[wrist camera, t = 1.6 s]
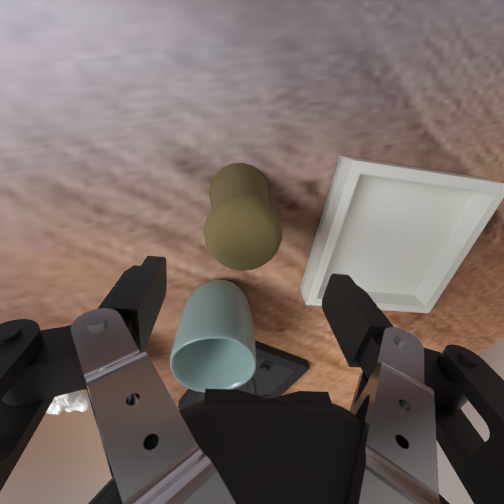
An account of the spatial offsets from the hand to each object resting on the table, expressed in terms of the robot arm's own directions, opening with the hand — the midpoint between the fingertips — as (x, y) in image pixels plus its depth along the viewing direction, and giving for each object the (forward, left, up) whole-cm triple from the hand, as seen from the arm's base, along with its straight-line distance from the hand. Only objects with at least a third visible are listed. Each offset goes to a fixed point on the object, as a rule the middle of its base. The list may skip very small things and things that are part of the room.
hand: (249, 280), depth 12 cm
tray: (+3, +17, -15) cm, 22 cm away
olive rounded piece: (0, 0, -15) cm, 15 cm away
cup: (+13, -1, -15) cm, 20 cm away
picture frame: (+30, +4, -15) cm, 34 cm away
